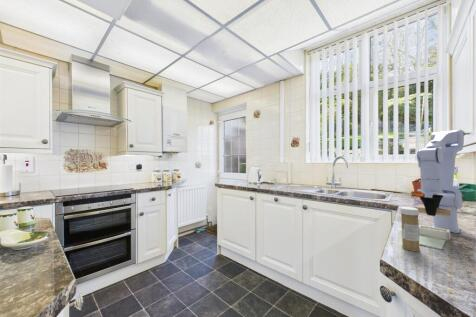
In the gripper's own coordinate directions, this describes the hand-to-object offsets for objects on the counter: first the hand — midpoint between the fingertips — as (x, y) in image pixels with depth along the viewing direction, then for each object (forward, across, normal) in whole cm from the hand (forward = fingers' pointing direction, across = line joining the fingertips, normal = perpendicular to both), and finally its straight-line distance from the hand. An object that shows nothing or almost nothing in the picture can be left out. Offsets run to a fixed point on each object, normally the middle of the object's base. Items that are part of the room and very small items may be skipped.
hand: (432, 214), depth 76 cm
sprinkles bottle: (+8, +21, -3) cm, 23 cm away
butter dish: (+8, 0, 0) cm, 8 cm away
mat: (+8, +9, 0) cm, 12 cm away
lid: (0, 0, 0) cm, 0 cm away
